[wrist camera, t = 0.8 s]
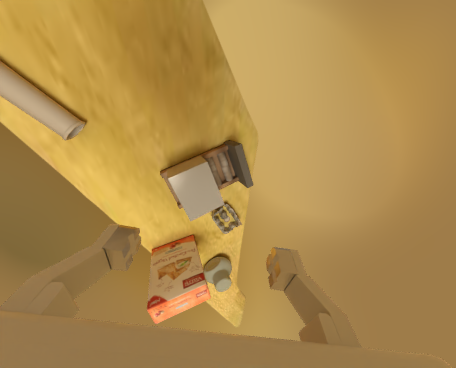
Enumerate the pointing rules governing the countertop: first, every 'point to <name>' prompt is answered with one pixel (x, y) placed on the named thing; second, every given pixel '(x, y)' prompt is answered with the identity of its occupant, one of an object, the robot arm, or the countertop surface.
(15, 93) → the tube
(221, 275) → the air freshener
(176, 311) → the cracker box
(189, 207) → the grey cardboard box
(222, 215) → the egg carton
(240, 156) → the roller bed
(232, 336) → the robot arm
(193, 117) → the countertop surface
